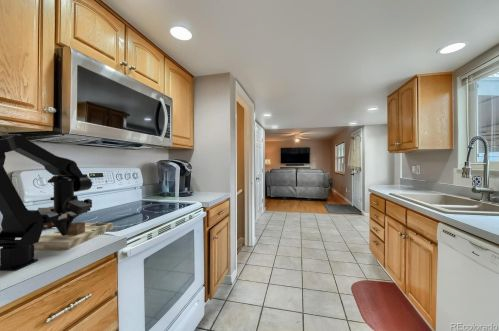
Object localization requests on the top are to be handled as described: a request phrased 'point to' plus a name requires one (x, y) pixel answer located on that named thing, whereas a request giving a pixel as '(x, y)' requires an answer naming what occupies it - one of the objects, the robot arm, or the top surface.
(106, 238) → the top surface
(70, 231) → the walnut block
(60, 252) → the top surface
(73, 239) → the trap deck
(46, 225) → the food container
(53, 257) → the top surface
